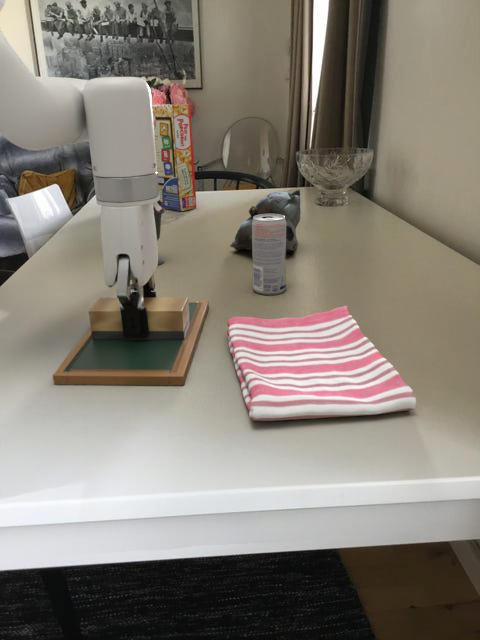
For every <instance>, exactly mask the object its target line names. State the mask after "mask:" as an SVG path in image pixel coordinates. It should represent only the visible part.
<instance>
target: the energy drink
mask: <svg viewBox="0 0 480 640" xmlns="http://www.w3.org/2000/svg"><path fill="white" fill-rule="evenodd" d="M251 250H252V251H251V252H252V253H251V255H252V289H253V291H254V292H255V293H256V294H259V295H263V296H264V295H265V296H274V295H280V294H283V292H285V290H286V289H287V252H286V220H285V216H283V215H280V214H260V215H256V216H254V217H253V221H252V248H251Z"/></svg>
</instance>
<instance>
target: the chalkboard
mask: <svg viewBox="0 0 480 640" xmlns="http://www.w3.org/2000/svg"><path fill="white" fill-rule="evenodd" d="M188 305H189V320H190V325H189V328H188V331H187V333H186V336H185V339H184V340H93V339H92V333H91V326H90V327H89V329H88V330H87V331H86V333H85V334H84V335H83V336H82V337H81V339H80V340H79V342H78V343H76V345H75V346H74V347H73V349H72V350H71V352H70V353H69V354H68V356H67V357H66V358H65V359H64V360H63V362H62V363H61V364H60V365H59V367H58V368H57V369H56V370H55V372H54V373H53V375H52V378H53V379H52V380H53V385H74V386H75V385H76V386H77V385H80V386H81V385H83V386H85V385H86V386H87V385H90V386H91V385H93V386H95V385H96V386H175V387H177V386H182V387H183V386H185V383H186V379H187V376H188V374H189V370H190V367H191V364H192V362H193V358H194V355H195V352H196V349H197V347H198V343H199V340H200V337H201V334H202V330H203V327H204V324H205V321H206V318H207V315H208V312H209V310H210V301H209V300H188Z"/></svg>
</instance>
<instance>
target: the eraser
mask: <svg viewBox="0 0 480 640" xmlns="http://www.w3.org/2000/svg"><path fill="white" fill-rule="evenodd" d="M143 298H144V307H147V317H148V327H149V336H148V337H147V338H125V337H124V336H123V327H122V319H121V310H120V303H119V299H118V298H117V297H99V298H98V299H97V300H96V302H95V303H94V304H92V306H91V308H90V309H89V310H88V317H89V325H90V327H91V333H92V339H93V340H184V339H185V336H186V333H187V331H188V328H189V325H190V320H189V305H188V301H189V297H187V296H182V297H181V296H169V297H166V296H163V297H162V296H161V297H159V296H156V297H143Z"/></svg>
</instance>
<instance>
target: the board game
mask: <svg viewBox="0 0 480 640" xmlns="http://www.w3.org/2000/svg"><path fill="white" fill-rule="evenodd" d="M152 112H153V124H154V137H155V149H156V161H157V172H158V184H159V197H160V201H161V205H160V206H161V207H163V208H165V209H167V210H173V211H178V212H185V211H189V210H193V209H197V193H196V192H197V191H196V190H197V189H196V178H195V176H196V175H195V173H196V172H195V160H194V159H195V157H194V143H193V142H194V140H193V125H192V108H191V103H177V104H175V103H174V104H152Z"/></svg>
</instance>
